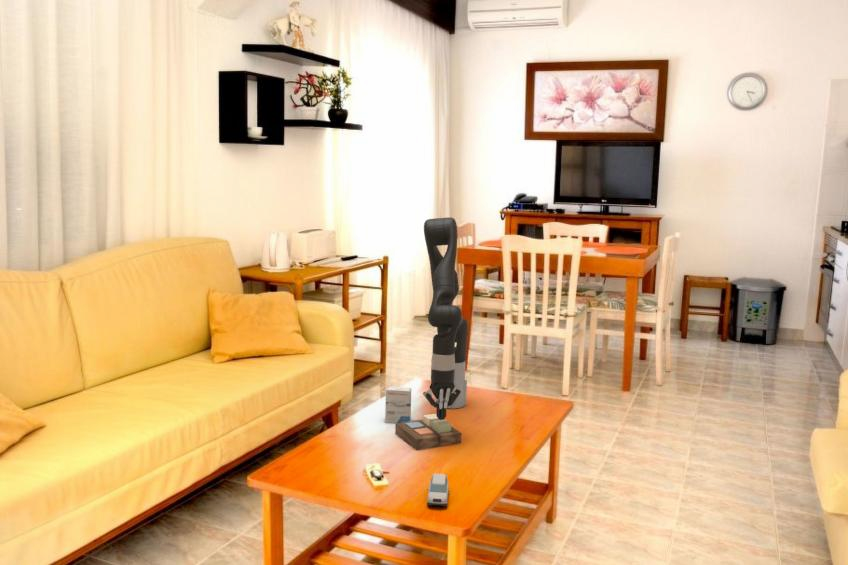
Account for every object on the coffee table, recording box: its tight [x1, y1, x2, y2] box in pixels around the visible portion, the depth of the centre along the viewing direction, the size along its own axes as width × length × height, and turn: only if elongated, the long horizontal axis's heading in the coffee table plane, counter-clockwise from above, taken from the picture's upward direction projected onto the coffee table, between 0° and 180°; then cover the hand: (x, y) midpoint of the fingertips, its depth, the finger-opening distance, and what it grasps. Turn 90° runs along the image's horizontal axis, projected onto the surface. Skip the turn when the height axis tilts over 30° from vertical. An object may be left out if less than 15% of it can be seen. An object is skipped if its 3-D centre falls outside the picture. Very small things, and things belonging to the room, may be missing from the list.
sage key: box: [432, 419, 452, 433], centre depth 244 cm, size 5×5×2 cm
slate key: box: [406, 422, 424, 430], centre depth 247 cm, size 5×5×2 cm
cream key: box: [422, 413, 439, 427], centre depth 249 cm, size 5×5×2 cm
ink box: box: [384, 386, 412, 424], centre depth 261 cm, size 8×5×12 cm, turn 84°
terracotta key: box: [414, 428, 433, 436], centre depth 241 cm, size 5×5×2 cm
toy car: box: [426, 473, 450, 508], centre depth 201 cm, size 6×13×5 cm, turn 176°
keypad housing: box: [394, 419, 463, 451], centre depth 246 cm, size 16×16×4 cm
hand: (441, 418), depth 243 cm, fingers closed
